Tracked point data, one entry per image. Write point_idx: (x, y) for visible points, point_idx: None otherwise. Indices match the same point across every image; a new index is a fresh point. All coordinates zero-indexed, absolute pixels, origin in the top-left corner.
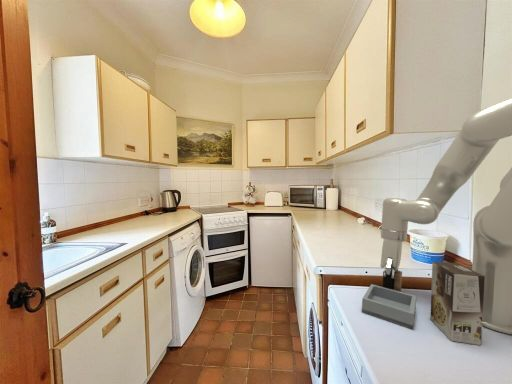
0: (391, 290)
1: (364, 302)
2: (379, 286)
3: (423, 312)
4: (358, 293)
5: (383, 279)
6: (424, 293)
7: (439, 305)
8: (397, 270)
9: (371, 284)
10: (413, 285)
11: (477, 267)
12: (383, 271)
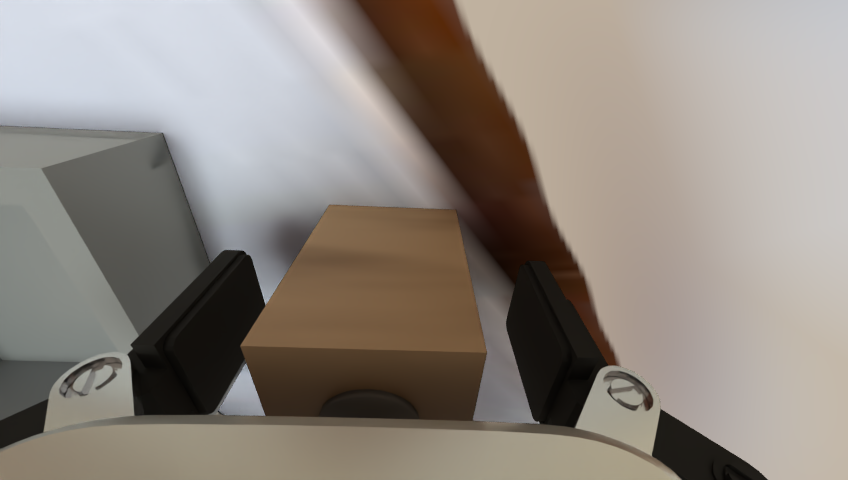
0: (115, 339)
1: None
2: (84, 254)
3: (245, 383)
4: (94, 3)
5: (170, 310)
6: (499, 389)
7: None
8: (542, 419)
9: (29, 174)
10: (603, 353)
11: None
12: (282, 346)
